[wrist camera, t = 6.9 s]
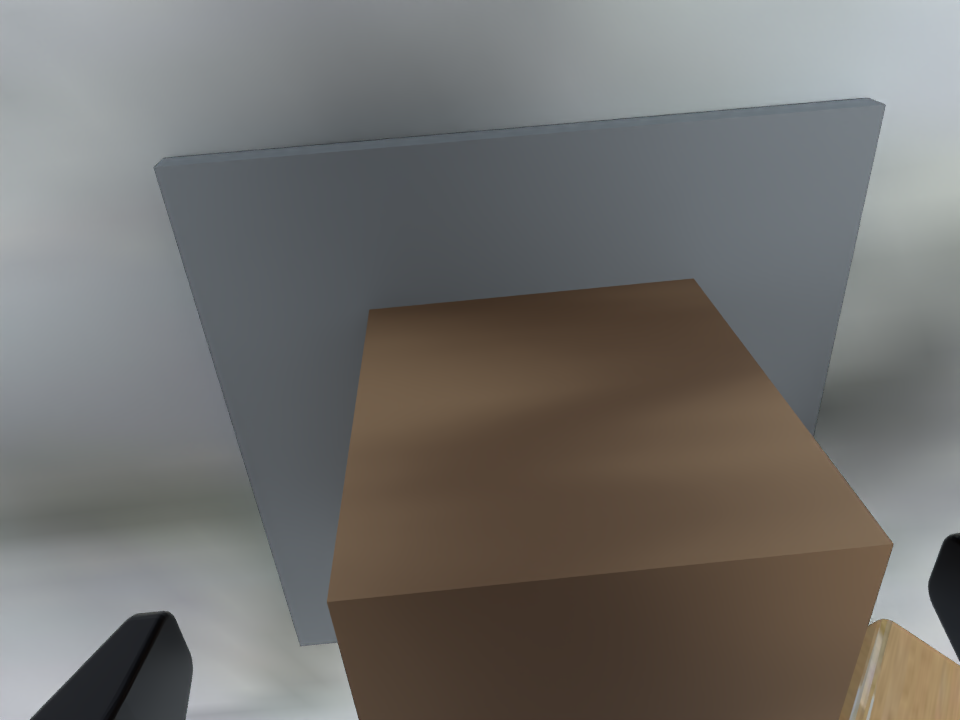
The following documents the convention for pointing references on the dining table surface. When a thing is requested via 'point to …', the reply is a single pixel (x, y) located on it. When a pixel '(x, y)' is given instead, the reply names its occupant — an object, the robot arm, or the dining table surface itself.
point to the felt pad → (498, 264)
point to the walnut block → (591, 520)
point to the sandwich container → (901, 679)
